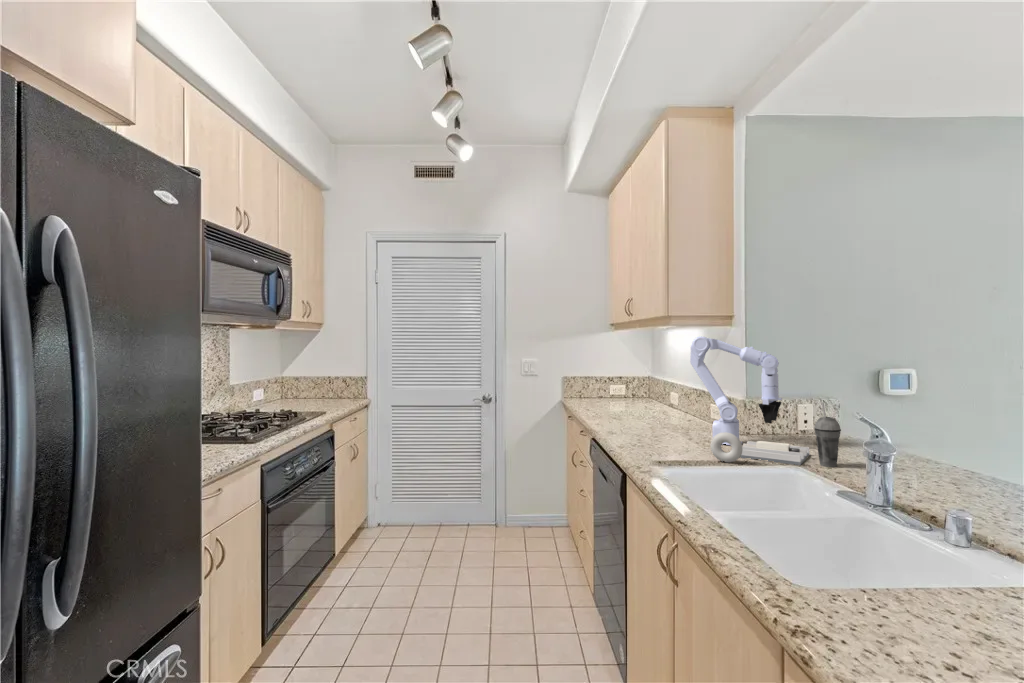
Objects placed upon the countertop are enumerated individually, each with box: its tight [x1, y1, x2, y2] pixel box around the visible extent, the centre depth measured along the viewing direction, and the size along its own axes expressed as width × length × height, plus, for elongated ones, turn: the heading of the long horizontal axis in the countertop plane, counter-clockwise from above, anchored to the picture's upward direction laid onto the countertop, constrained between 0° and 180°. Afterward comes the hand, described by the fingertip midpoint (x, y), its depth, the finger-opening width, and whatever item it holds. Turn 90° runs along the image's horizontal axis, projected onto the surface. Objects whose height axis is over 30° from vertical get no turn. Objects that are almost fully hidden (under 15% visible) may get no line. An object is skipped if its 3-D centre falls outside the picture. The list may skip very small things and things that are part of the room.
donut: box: [709, 432, 743, 463], centre depth 163 cm, size 10×3×10 cm, turn 55°
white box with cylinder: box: [755, 440, 800, 453], centre depth 169 cm, size 13×3×4 cm, turn 50°
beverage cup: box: [813, 402, 842, 468], centre depth 156 cm, size 7×7×20 cm
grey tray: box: [740, 440, 811, 466], centre depth 170 cm, size 20×18×3 cm
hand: (770, 421), depth 186 cm, fingers open, 7 cm apart
